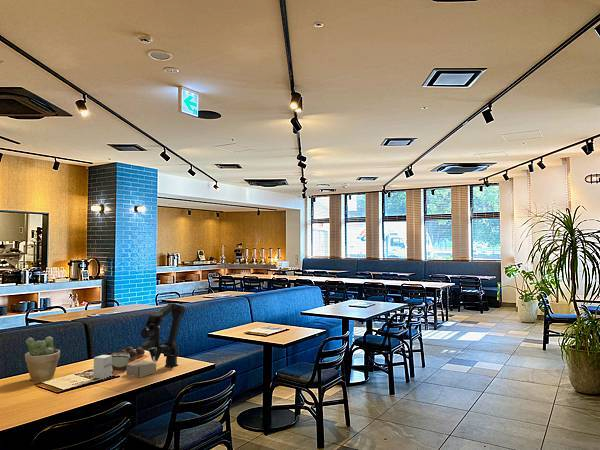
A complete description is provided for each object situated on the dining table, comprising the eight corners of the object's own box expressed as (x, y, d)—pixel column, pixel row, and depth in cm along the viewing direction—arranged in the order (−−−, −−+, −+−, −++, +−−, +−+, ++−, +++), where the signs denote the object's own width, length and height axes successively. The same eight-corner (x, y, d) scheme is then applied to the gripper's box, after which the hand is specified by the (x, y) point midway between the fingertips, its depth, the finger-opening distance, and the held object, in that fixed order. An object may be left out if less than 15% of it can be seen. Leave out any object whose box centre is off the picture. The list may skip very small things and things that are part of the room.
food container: (133, 368, 289) (133, 352, 289) (128, 371, 283) (128, 355, 283) (115, 368, 290) (115, 352, 290) (110, 370, 284) (110, 354, 284)
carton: (143, 369, 285) (143, 360, 286) (155, 372, 279) (155, 362, 279) (126, 374, 275) (126, 364, 276) (138, 377, 269) (138, 367, 269)
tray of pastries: (128, 356, 323) (128, 344, 323) (148, 357, 319) (148, 345, 319) (102, 366, 295) (102, 353, 296) (124, 368, 292) (125, 354, 292)
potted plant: (48, 372, 280) (49, 332, 281) (66, 377, 270) (67, 335, 272) (17, 380, 264) (18, 337, 265) (36, 385, 255) (36, 340, 256)
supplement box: (103, 379, 264) (103, 358, 265) (93, 378, 267) (93, 357, 267) (112, 376, 271) (112, 355, 272) (102, 375, 274) (102, 354, 274)
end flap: (155, 372, 278) (155, 356, 279) (156, 372, 278) (156, 356, 278) (138, 376, 269) (139, 360, 269) (140, 377, 268) (140, 360, 268)
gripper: (134, 336, 277) (134, 361, 276) (154, 339, 267) (153, 366, 266) (149, 333, 286) (149, 357, 286) (169, 336, 276) (168, 361, 275)
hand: (154, 360), depth 278 cm, fingers open, 3 cm apart
